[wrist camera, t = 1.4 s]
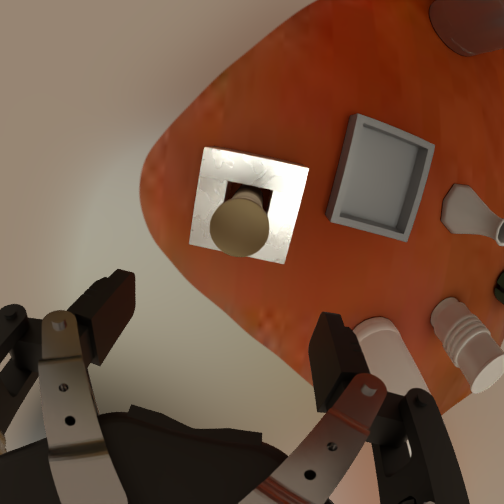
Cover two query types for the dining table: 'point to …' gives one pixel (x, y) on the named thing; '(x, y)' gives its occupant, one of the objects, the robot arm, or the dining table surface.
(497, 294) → the character mug
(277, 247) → the hitch block
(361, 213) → the tray
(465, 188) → the flask
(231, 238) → the pin
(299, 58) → the dining table surface
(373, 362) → the bottle
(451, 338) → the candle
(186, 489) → the robot arm
